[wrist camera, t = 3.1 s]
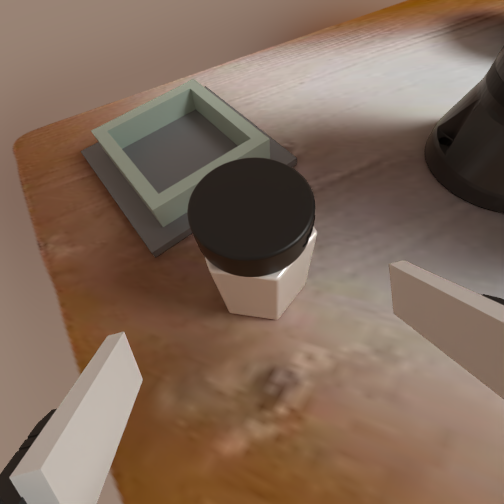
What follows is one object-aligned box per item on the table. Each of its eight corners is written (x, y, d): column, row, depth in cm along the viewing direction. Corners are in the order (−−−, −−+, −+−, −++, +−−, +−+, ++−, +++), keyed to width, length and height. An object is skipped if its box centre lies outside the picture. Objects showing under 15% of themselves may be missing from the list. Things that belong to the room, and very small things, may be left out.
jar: (318, 304, 27) (344, 236, 16) (236, 336, 26) (208, 287, 16) (280, 229, 31) (282, 138, 21) (208, 255, 30) (172, 173, 20)
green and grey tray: (207, 92, 44) (200, 65, 40) (296, 164, 36) (298, 137, 32) (84, 157, 39) (66, 132, 36) (155, 257, 31) (139, 237, 27)
